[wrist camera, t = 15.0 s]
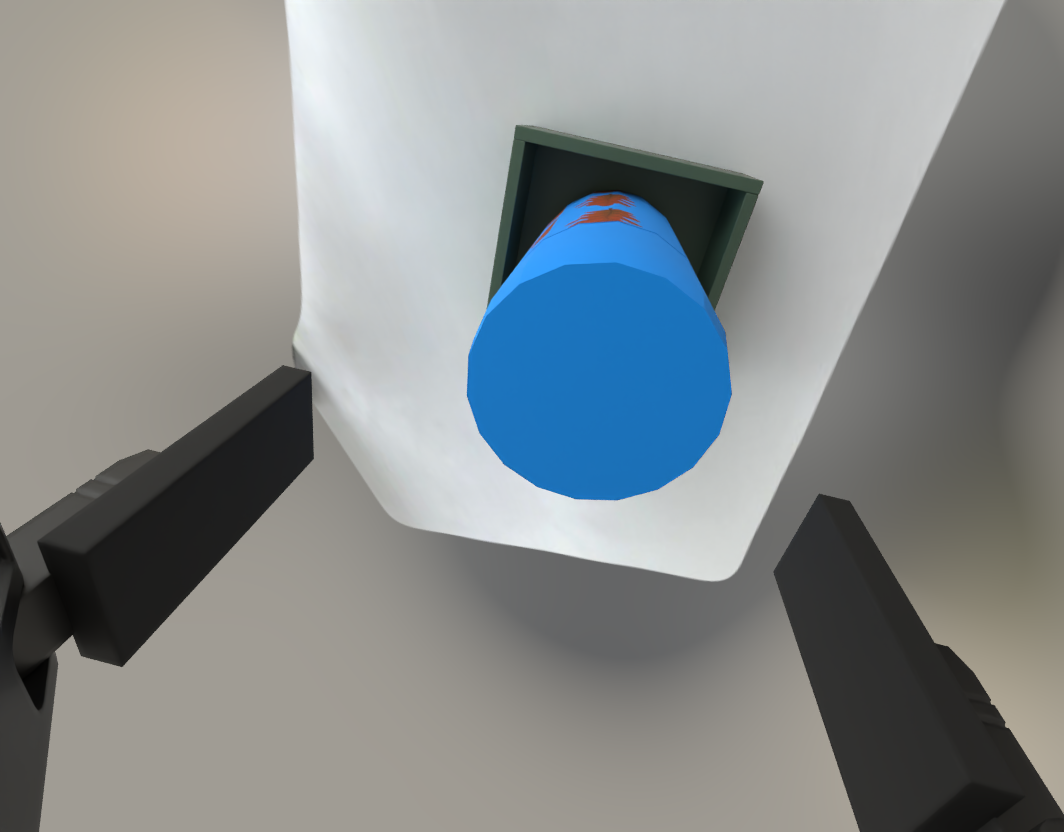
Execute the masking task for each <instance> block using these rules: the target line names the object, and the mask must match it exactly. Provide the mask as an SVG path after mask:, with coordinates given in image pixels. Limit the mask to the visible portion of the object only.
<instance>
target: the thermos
mask: <svg viewBox="0 0 1064 832" xmlns="http://www.w3.org/2000/svg"><path fill="white" fill-rule="evenodd" d="M731 395H732V391H731V380H730V370H729V360H728V350H727V342H726V334H725V331H724V329H723V327H722V325H721V323H720V321H719V319H718V317H717V315H716V313H715V311H714V309H713V307H712V305H711V303H710V301H709V299H708V297H707V295H706V293H705V291H704V289H703V287H702V285H701V283H700V282H699V280H698V278H697V276H696V274H695V272H694V270H693V268H692V266H691V264H690V262H689V260H688V258H687V256H686V254H685V252H684V250H683V248H682V246H681V244H680V242H679V240H678V239H677V237H676V235H675V233H674V231H673V229H672V228H671V226H670V224H669V222H668V220H667V218H666V217H665V216H664V215H663V214H662V213H660V212H659V211H658V210H657V209H656V208H654V207H653V206H652V205H651V204H650V203H648V202H647V201H646V200H645V199H644V198H642V197H640V196H637V195H634V194H631V193H628V192H624V191H621V190H608V191H595V192H593V193H590V194H588V195H586V196H584V197H582V198H580V199H577V200H575V201H573V202H572V203H570V204H569V205H567V206H566V207H565V208H564V209H563V210H562V211H561V212H560V213H559V214H558V215H557V216H556V217H555V218H554V219H553V220H552V221H551V222H550V223H549V224H548V225H547V227H546V228H545V229H544V231H543V232H542V233H541V235H540V236H539V237H538V238H537V240H536V241H535V242H534V244H533V245H532V246H531V248H530V249H529V250H528V252H527V253H526V254H525V256H524V257H523V258H522V260H521V261H520V262H519V264H518V265H517V266H516V268H515V269H514V270H513V272H512V273H511V274H510V276H509V277H508V278H507V280H506V281H505V282H504V284H503V285H502V286H501V288H500V289H499V290H498V292H497V293H496V294H495V296H494V297H493V298H492V299H491V301H490V304H489V306H488V308H487V310H486V313H485V315H484V317H483V319H482V322H481V324H480V326H479V328H478V331H477V333H476V335H475V337H474V340H473V343H472V346H471V349H470V352H469V356H468V382H467V397H468V400H469V403H470V406H471V409H472V412H473V415H474V418H475V421H476V424H477V427H478V430H479V433H480V434H481V436H482V437H483V438H484V439H485V441H486V442H487V443H488V445H489V446H490V447H491V448H492V450H493V451H494V452H495V453H496V455H497V456H498V457H499V459H500V460H501V461H502V462H503V464H504V465H506V466H507V467H509V468H510V469H512V470H513V471H515V472H516V473H518V474H519V475H520V476H522V477H523V478H525V479H526V480H528V481H529V482H531V483H532V484H534V485H535V486H537V487H539V488H542V489H546V490H549V491H552V492H555V493H558V494H561V495H565V496H568V497H571V498H574V499H588V500H620V499H624V498H628V497H632V496H635V495H639V494H643V493H647V492H650V491H654V490H658V489H659V488H661V487H663V486H664V485H666V484H667V483H669V482H671V481H672V480H674V479H675V478H677V477H678V476H680V475H682V474H683V473H685V472H686V471H688V470H690V469H691V468H693V467H694V466H695V464H696V463H697V462H698V461H699V459H700V458H701V457H702V455H703V454H704V453H705V452H706V450H707V449H708V448H709V447H710V445H711V444H712V443H713V442H714V440H715V439H716V438H717V437H718V435H719V434H720V430H721V427H722V424H723V421H724V418H725V414H726V411H727V408H728V405H729V401H730V398H731Z"/></svg>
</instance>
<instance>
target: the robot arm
mask: <svg viewBox="0 0 1064 832" xmlns="http://www.w3.org/2000/svg"><path fill="white" fill-rule="evenodd" d="M312 417H313V416H312V380H311V372H309V371H304V370H300V369H296V368H292V367H288V366H284V365H283V366H282V367H280V368H278V369H277V370H276V371H274V372H273V373H271V374H270V375H269V376H267V377H266V378H264V379H263V380H262V381H260V382H259V383H258V384H256V385H255V386H253V387H252V388H251V389H249V390H248V391H246V392H245V393H243V394H242V395H241V396H239V397H238V398H236V399H235V400H234V401H232V402H231V403H229V404H228V405H227V406H225V407H224V408H223V409H221V410H220V411H218V412H217V413H216V414H214V415H213V416H211V417H210V418H208V419H207V420H206V421H204V422H203V423H201V424H200V425H199V426H197V427H196V428H195V429H193V430H192V431H190V432H189V433H187V434H186V435H185V436H183V437H182V438H181V439H179V440H178V441H176V442H175V443H173V444H172V445H171V446H169V447H168V448H167V449H165V450H164V451H162V452H161V453H160V452H156V451H152V450H145V451H143V452H140V453H138V454H135V455H132V456H130V457H127V458H125V459H122V460H119V461H118V462H116V463H115V464H113V465H112V466H110V467H109V468H107V469H106V470H104V471H103V472H101V473H100V474H99V475H97V476H96V478H95V479H94V480H89V481H88V482H86V483H85V484H83V485H82V486H80V487H79V488H77V489H76V492H75V493H70V494H68V495H67V496H66V497H64V498H62V499H61V500H60V501H58V502H56V503H55V504H54V505H52V506H51V507H49V508H48V509H46V510H45V511H43V512H42V513H40V514H39V515H37V516H36V517H34V518H33V519H32V520H30V521H29V522H27V523H25V524H24V525H22V526H21V527H19V528H18V529H16V530H15V531H13V532H12V533H10V534H9V535H7V536H6V535H5V533H4V530H3V528H2V525H1V523H0V832H39V827H40V818H41V809H42V801H43V800H42V799H43V792H44V783H45V774H46V766H47V757H48V748H49V739H50V730H51V721H52V713H53V704H54V696H55V687H56V678H57V669H58V662H57V657H56V653H55V651H56V650H57V649H58V648H59V647H60V646H61V645H62V644H63V643H64V642H65V641H66V640H67V639H68V638H69V637H71V636H72V635H73V637H74V639H75V642H76V644H77V647H78V649H79V652H80V654H81V656H83V657H86V658H90V659H94V660H98V661H101V662H105V663H109V664H113V665H116V666H120V667H123V665H125V663H126V662H127V661H128V660H129V659H130V658H131V657H132V656H133V655H134V654H135V653H136V651H137V650H138V649H139V648H140V647H141V646H142V645H143V644H144V643H145V642H146V640H148V638H149V637H150V636H151V635H152V634H153V633H154V632H155V631H156V630H157V629H158V628H159V626H160V625H161V624H162V623H163V622H164V621H165V620H166V619H167V618H168V617H169V615H171V613H172V612H173V611H174V610H175V609H176V608H177V607H178V606H179V604H181V603H182V602H183V600H184V599H185V598H186V597H187V596H188V595H189V594H190V593H191V592H192V591H193V590H194V588H195V587H196V586H197V585H198V584H199V583H200V582H201V581H202V580H203V579H204V578H205V576H206V575H207V574H208V573H209V572H210V571H211V570H212V569H213V568H214V567H215V566H216V565H217V563H218V562H219V561H220V560H221V559H222V558H223V557H224V556H225V555H226V554H227V553H228V551H229V550H230V549H231V548H232V547H233V546H234V545H235V544H236V543H237V542H238V541H239V539H240V538H241V537H242V536H243V535H244V534H245V533H246V532H247V531H248V530H249V529H250V528H251V526H252V525H253V524H254V523H255V522H256V521H257V520H258V519H259V518H260V517H261V515H262V514H263V513H264V512H265V511H266V510H267V509H268V508H269V507H270V506H271V505H272V503H274V501H275V500H276V499H277V498H278V497H279V496H280V495H281V494H282V493H283V492H284V490H285V489H286V488H287V487H288V486H289V485H290V484H291V483H292V482H293V480H295V479H296V477H297V476H298V475H299V474H300V473H301V472H302V471H303V470H304V469H305V467H307V465H308V464H309V463H310V462H311V461H312V460H313V459H314V452H313V418H312ZM774 575H775V578H776V581H777V584H778V587H779V590H780V593H781V596H782V599H783V602H784V605H785V608H786V611H787V614H788V617H789V620H790V623H791V626H792V629H793V632H794V635H795V638H796V641H797V644H798V647H799V650H800V653H801V656H802V659H803V662H804V665H805V668H806V671H807V674H808V677H809V680H810V683H811V686H812V689H813V692H814V695H815V698H816V701H817V704H818V707H819V710H820V713H821V716H822V719H823V722H824V725H825V728H826V731H827V734H828V737H829V740H830V743H831V746H832V749H833V752H834V755H835V758H836V761H837V764H838V767H839V770H840V773H841V776H842V779H843V782H844V785H845V788H846V791H847V794H848V797H849V800H850V803H851V806H852V809H853V812H854V815H855V818H856V821H857V824H858V827H859V830H860V832H1064V814H1063V813H1062V811H1061V809H1060V807H1059V806H1058V805H1057V803H1056V801H1055V800H1054V798H1053V797H1052V795H1051V793H1050V792H1049V790H1048V789H1047V787H1046V785H1045V784H1044V782H1043V781H1042V779H1041V778H1040V776H1039V774H1038V773H1037V771H1036V770H1035V768H1034V767H1033V765H1032V764H1031V762H1030V760H1029V759H1028V757H1027V756H1026V754H1025V752H1024V751H1023V749H1022V748H1021V746H1020V745H1019V743H1018V741H1017V740H1016V738H1015V737H1014V735H1013V734H1012V732H1011V730H1010V729H1009V728H1006V727H1005V721H1004V719H1003V718H1002V716H1001V715H1000V713H999V712H998V710H997V709H996V707H995V705H991V703H990V701H991V699H990V698H989V696H988V694H987V693H986V691H985V690H984V688H983V687H982V685H981V683H980V682H979V680H978V679H977V677H976V675H975V674H974V672H973V671H972V670H971V669H970V668H969V667H968V666H967V665H966V664H965V663H964V662H963V661H962V660H961V659H960V658H959V657H958V656H957V655H956V654H955V653H954V652H953V651H952V650H951V649H950V648H949V647H948V646H943V645H940V644H936V643H934V641H933V640H932V638H931V636H930V635H929V633H928V631H927V630H926V628H925V626H924V625H923V623H922V621H921V620H920V618H919V616H918V615H917V613H916V611H915V609H914V608H913V606H912V604H911V603H910V601H909V599H908V598H907V596H906V594H905V593H904V591H903V589H902V588H901V586H900V584H899V583H898V581H897V579H896V578H895V576H894V574H893V573H892V571H891V569H890V568H889V566H888V564H887V563H886V561H885V559H884V558H883V556H882V554H881V553H880V551H879V549H878V548H877V546H876V544H875V542H874V541H873V539H872V538H871V536H870V534H869V532H868V531H867V529H866V527H865V526H864V524H863V522H862V521H861V519H860V518H859V516H858V514H857V512H856V511H855V509H854V507H853V506H852V504H851V502H850V501H847V500H843V499H839V498H835V497H831V496H826V495H822V494H819V495H818V496H817V498H816V500H815V501H814V504H813V505H812V507H811V508H810V510H809V512H808V513H807V515H806V517H805V519H804V520H803V522H802V524H801V525H800V527H799V529H798V531H797V532H796V534H795V536H794V537H793V539H792V541H791V543H790V545H789V546H788V548H787V549H786V552H785V553H784V555H783V556H782V558H781V560H780V561H779V563H778V565H777V567H776V568H775V570H774Z"/></svg>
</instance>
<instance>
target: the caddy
mask: <svg viewBox="0 0 1064 832" xmlns="http://www.w3.org/2000/svg"><path fill="white" fill-rule="evenodd" d="M762 185H763V181H761V180H758V179H756V178H753V177H751V176H748V175H745V174H743V173H738V172H734V171H730V170H725V169H721V168H716V167H712V166H708V165H703V164H699V163H694V162H690V161H686V160H681V159H677V158H672V157H668V156H664V155H659V154H655V153H650V152H646V151H642V150H637V149H633V148H628V147H624V146H620V145H615V144H611V143H606V142H602V141H598V140H593V139H589V138H584V137H580V136H576V135H571V134H567V133H562V132H558V131H554V130H549V129H545V128H540V127H536V126H528V125H516V128H515V134H514V140H513V146H512V153H511V159H510V165H509V172H508V178H507V184H506V191H505V197H504V203H503V210H502V216H501V222H500V229H499V235H498V241H497V247H496V254H495V260H494V266H493V273H492V279H491V285H490V292H489V298H488V304H487V308H488V306H489V304H490V301H491V299H492V298H493V297H494V296H495V294H496V293H497V292H498V290H499V289H500V288H501V286H502V285H503V284H504V282H505V281H506V280H507V278H508V277H509V276H510V274H511V273H512V272H513V270H514V269H515V268H516V266H517V265H518V264H519V262H520V261H521V260H522V258H523V257H524V256H525V254H526V253H527V252H528V250H529V249H530V248H531V246H532V245H533V244H534V242H535V241H536V240H537V238H538V237H539V236H540V235H541V233H542V232H543V231H544V229H545V228H546V227H547V225H548V224H549V223H550V222H551V221H552V220H553V219H554V218H555V217H556V216H557V215H558V214H559V213H560V212H561V211H562V210H563V209H564V208H565V207H566V206H567V205H569V204H570V203H572V202H573V201H575V200H577V199H580V198H582V197H584V196H586V195H588V194H590V193H593V192H595V191H608V190H621V191H624V192H628V193H631V194H634V195H637V196H640V197H642V198H644V199H645V200H646V201H647V202H648V203H650V204H651V205H652V206H653V207H654V208H656V209H657V210H658V211H659V212H660V213H662V214H663V215H664V216H665V217H666V218H667V220H668V222H669V224H670V226H671V228H672V229H673V231H674V233H675V235H676V237H677V239H678V240H679V242H680V244H681V246H682V248H683V250H684V252H685V254H686V256H687V258H688V260H689V262H690V264H691V266H692V268H693V270H694V272H695V274H696V276H697V278H698V280H699V282H700V283H701V285H702V287H703V289H704V291H705V293H706V295H707V297H708V299H709V301H710V303H711V305H712V307H713V309H714V311H715V308H716V306H717V303H718V300H719V298H720V295H721V292H722V290H723V287H724V285H725V282H726V279H727V277H728V274H729V271H730V269H731V266H732V264H733V261H734V258H735V256H736V253H737V250H738V248H739V245H740V243H741V240H742V237H743V235H744V232H745V229H746V227H747V224H748V222H749V219H750V216H751V214H752V211H753V208H754V206H755V203H756V201H757V198H758V195H757V194H759V193H760V190H761V188H762Z"/></svg>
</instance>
